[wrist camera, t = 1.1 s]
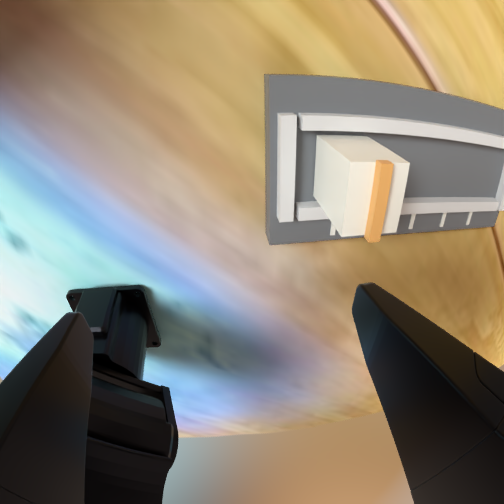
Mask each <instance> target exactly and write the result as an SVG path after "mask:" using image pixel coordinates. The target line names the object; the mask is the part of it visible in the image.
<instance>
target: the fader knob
mask: <svg viewBox="0 0 504 504" xmlns="http://www.w3.org/2000/svg"><path fill="white" fill-rule="evenodd" d="M409 166H410V163H409V162H408V161H406V160H405V159H403V158H401V157H400V156H398V155H397V154H395V153H394V152H392V151H391V150H389V149H387V148H386V147H384V146H382V145H381V144H379V143H378V142H376V141H374V140H373V139H371V138H369V137H367V136H351V135H317V140H316V160H315V177H314V192H313V196H314V197H315V199H316V200H317V202H318V203H319V205H320V206H321V208H322V209H323V210H324V212H325V213H326V215H327V216H328V218H329V219H330V221H331V222H332V224H333V225H334V227H335V228H336V230H337V231H338V233H339V234H340V236H341V237H347V236H359V235H364V237H365V239H366V240H367V241H368V243H370V242H380V237H381V234H383V233H396V231H397V227H398V222H399V218H400V213H401V208H402V204H403V199H404V193H405V188H406V183H407V177H408V172H409Z"/></svg>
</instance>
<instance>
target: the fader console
mask: <svg viewBox="0 0 504 504" xmlns="http://www.w3.org/2000/svg"><path fill="white" fill-rule="evenodd" d="M264 83H265V175H266V235H267V238H268V242H269V245H278V244H290V243H301V242H313V241H324V240H336V239H348V238H359V237H364V235H359V236H347V237H341V236H340V234H339V233H338V231H337V230H336V228H335V227H334V225H333V224H332V222H331V221H330V219H329V218H328V216H327V215H326V213H325V212H324V210H323V209H322V208H321V206H320V205H319V203H318V202H317V200H316V199H315V197H314V196H313V192H314V177H315V160H316V140H317V135H351V136H367V137H369V138H371V139H373V140H374V141H376V142H378V143H379V144H381V145H382V146H384V147H386V148H387V149H389V150H391V151H392V152H394V153H395V154H397V155H398V156H400V157H401V158H403V159H405V160H406V161H408V162H409V163H410V166H409V172H408V177H407V183H406V188H405V193H404V199H403V204H402V208H401V213H400V218H399V222H398V227H397V231H396V233H383V234H381V236H383V235H395V234H407V233H419V232H431V231H444V230H456V229H468V228H481V227H494V225H495V222H496V219H497V216H498V213H499V211H504V110H503V109H500V108H497V107H494V106H491V105H487V104H484V103H481V102H477V101H474V100H470V99H466V98H462V97H459V96H455V95H450V94H446V93H442V92H437V91H433V90H428V89H423V88H418V87H413V86H407V85H401V84H395V83H388V82H381V81H374V80H366V79H357V78H347V77H335V76H320V75H298V74H264Z"/></svg>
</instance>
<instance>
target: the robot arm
mask: <svg viewBox="0 0 504 504" xmlns="http://www.w3.org/2000/svg"><path fill="white" fill-rule="evenodd" d="M137 292H140V293H137ZM72 296H73V297H72ZM66 298H67V300H68V302H69V304H70V307H71V309H72V311H73V312H69V313H66V314H65V315H64V316H63V317H62V318H61V319H60V320H59V321H58V322H57V323H56V324H55V325H54V326H53V327H52V328H51V329H50V330H49V331H48V332H47V333H46V334H45V335H44V336H43V337H42V338H41V340H40V341H39V342H38V343H37V344H36V345H35V346H34V347H33V348H32V349H31V350H30V351H29V352H28V353H27V354H26V355H25V357H24V358H23V359H22V360H21V361H20V362H19V363H18V364H17V365H16V366H15V368H14V369H13V370H12V371H11V372H10V373H9V374H8V375H7V376H6V378H5V379H4V380H3V381H2V382H1V384H0V504H162V498H163V490H164V484H165V481H166V477H167V473H168V471H169V469H170V468H171V467H172V465H173V463H174V460H175V457H176V454H177V449H178V429H177V425H176V420H175V415H174V410H173V405H172V400H171V395H170V390H169V387H165V386H162V385H161V386H158V385H155V384H152V383H149V382H146V381H143V372H144V363H145V354H146V348H148V347H159V346H160V345H161V338H160V335H159V332H158V330H157V327H156V324H155V321H154V318H153V314H152V311H151V308H150V305H149V302H148V299H147V295H146V292H145V289H144V288H143V287H142V286H139V285H134V286H121V287H107V288H92V289H77V290H69V291H68V293H67V295H66ZM352 314H353V318H354V322H355V325H356V329H357V332H358V336H359V340H360V343H361V347H362V351H363V354H364V358H365V361H366V365H367V367H368V370H369V373H370V375H371V378H372V381H373V383H374V386H375V388H376V391H377V394H378V396H379V399H380V402H381V405H382V407H383V410H384V413H385V415H386V418H387V421H388V424H389V427H390V430H391V432H392V435H393V438H394V441H395V444H396V447H397V450H398V453H399V456H400V459H401V462H402V465H403V468H404V471H405V474H406V478H407V481H408V484H409V487H410V490H411V494H412V498H413V501H414V504H504V372H503V371H502V370H500V369H499V368H497V367H496V366H494V365H493V364H492V363H490V362H489V361H487V360H486V359H484V358H483V357H482V356H480V355H479V354H477V353H476V352H473V350H472V349H470V348H469V347H467V346H466V345H465V344H463V343H462V342H460V341H459V340H458V339H456V338H455V337H453V336H452V335H450V334H449V333H448V332H446V331H445V330H443V329H442V328H440V327H439V326H437V325H436V324H434V323H433V322H432V321H430V320H429V319H427V318H426V317H424V316H423V315H421V314H420V313H418V312H417V311H415V310H414V309H412V308H411V307H409V306H408V305H406V304H405V303H404V302H402V301H401V300H399V299H398V298H396V297H395V296H393V295H391V294H390V293H388V292H387V291H385V290H384V289H382V288H381V287H379V286H378V285H376V284H375V283H371V282H370V283H363V284H359V285H358V286H357V289H356V293H355V297H354V301H353V306H352ZM154 341H155V342H154Z"/></svg>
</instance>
